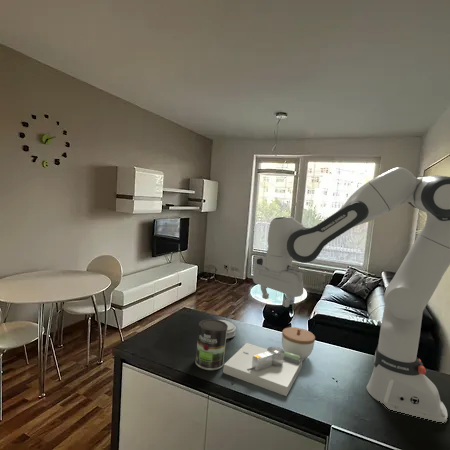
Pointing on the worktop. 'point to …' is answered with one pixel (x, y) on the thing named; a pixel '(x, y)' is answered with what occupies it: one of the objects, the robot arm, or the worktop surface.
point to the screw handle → (268, 358)
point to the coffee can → (211, 344)
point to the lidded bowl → (298, 341)
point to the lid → (229, 329)
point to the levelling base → (268, 377)
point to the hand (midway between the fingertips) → (275, 302)
